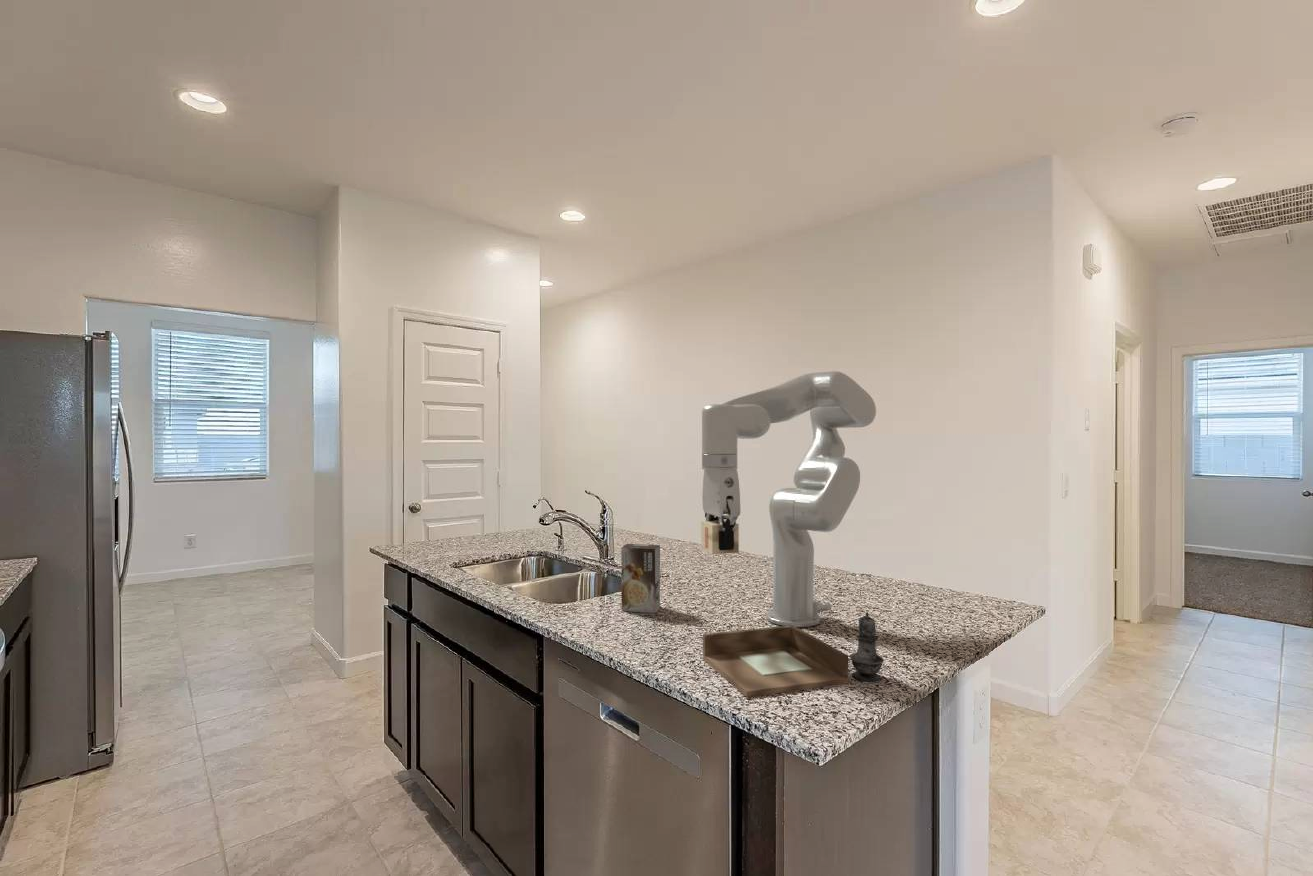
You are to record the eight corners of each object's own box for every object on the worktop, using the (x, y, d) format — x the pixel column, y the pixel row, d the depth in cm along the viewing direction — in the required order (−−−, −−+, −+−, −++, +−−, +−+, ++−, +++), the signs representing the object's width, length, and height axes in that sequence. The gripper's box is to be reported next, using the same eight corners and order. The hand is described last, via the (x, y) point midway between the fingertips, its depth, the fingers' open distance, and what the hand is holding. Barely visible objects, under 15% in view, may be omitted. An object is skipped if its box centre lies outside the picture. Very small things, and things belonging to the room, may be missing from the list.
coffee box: (661, 607, 162) (661, 544, 162) (655, 613, 156) (656, 548, 156) (626, 604, 164) (627, 543, 164) (620, 611, 158) (620, 547, 158)
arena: (792, 649, 130) (792, 625, 130) (848, 683, 112) (848, 655, 112) (702, 659, 123) (703, 634, 123) (746, 697, 105) (746, 667, 105)
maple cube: (726, 547, 138) (726, 520, 138) (738, 552, 132) (738, 524, 132) (701, 549, 136) (701, 521, 136) (712, 554, 130) (712, 525, 130)
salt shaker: (844, 672, 117) (845, 607, 117) (875, 671, 118) (875, 607, 118) (857, 684, 112) (858, 616, 112) (889, 683, 112) (890, 616, 112)
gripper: (754, 464, 127) (754, 553, 127) (719, 460, 143) (719, 539, 143) (720, 464, 124) (720, 555, 125) (688, 461, 141) (688, 541, 141)
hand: (719, 546), depth 134 cm, fingers closed on maple cube, 6 cm apart
